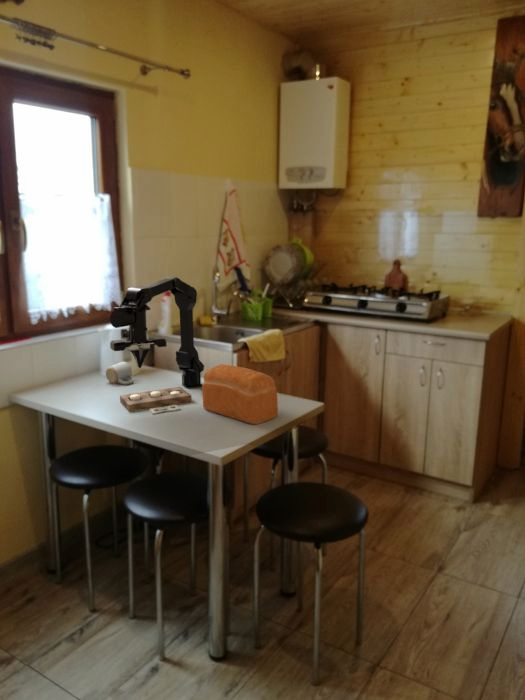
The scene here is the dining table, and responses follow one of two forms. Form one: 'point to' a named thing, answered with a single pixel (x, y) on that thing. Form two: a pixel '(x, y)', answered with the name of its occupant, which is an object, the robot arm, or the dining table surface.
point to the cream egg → (134, 397)
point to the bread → (240, 393)
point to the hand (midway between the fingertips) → (139, 367)
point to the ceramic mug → (119, 373)
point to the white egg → (174, 392)
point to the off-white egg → (155, 394)
